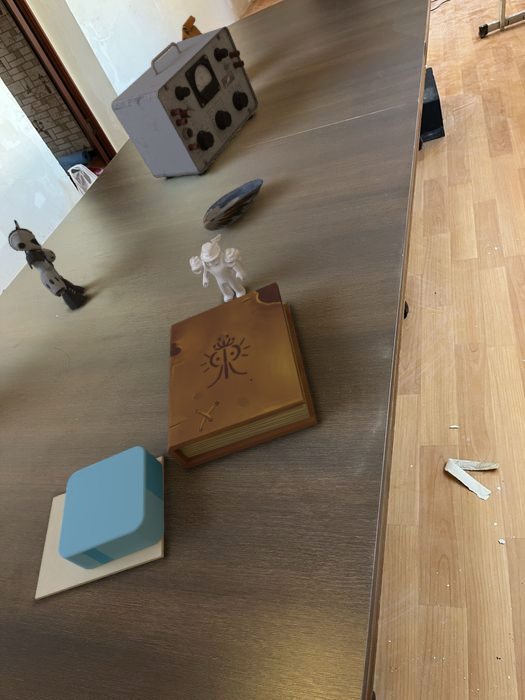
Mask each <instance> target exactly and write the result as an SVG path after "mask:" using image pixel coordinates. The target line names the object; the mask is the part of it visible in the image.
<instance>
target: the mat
mask: <svg viewBox="0 0 525 700" xmlns="http://www.w3.org/2000/svg"><path fill="white" fill-rule="evenodd" d="M155 458H156V459H157V460H158V461H159V462H160V463H161V464H162V469H163V506H164V507H165V457H164V456H163V455H161V456H159V457H155ZM65 496H66V492H64V493H62V494H59V495H56V496H53V497H52V503H51V510H50V514H49V519H48V525H47V530H46V535H45V542H44V547H43V553H42V556H41V557H42V558H41V564H40V568H39V575H38V579H37V584H36V589H35V590H36V591H35V595H34V599H35V600H37V601H39V600H41V599H44V598H47V597H50V596H51V597H52V596H53V595H56V594H59V593H63V592H65V591H69V590H71V589H74V588H77V587H80V586H83V585H86V584H88V583H92V582H94V581H98V580H100V579H102V578H106V577H109V576H112V575H115V574H118V573H121V572H124V571H127V570H130V569H133V568H136V567H139V566H141V565H144V564H147V563H150V562H153V561H156V560H159V559H163V558H164V556H165V555H164V554H165V553H164V550H165V547H164V546H165V545H164V544H165V543H164V542H165V541H164V540H165V539H164V538H165V537H164V535H165V534H164V533H165V531H164V532H163V535H162V537H161V539H160V540H159V541H158V542H157V543H156V544H154V545H152V546H149V547H146V548H144V549H141V550H139V551H136V552H133V553H131V554H128V555H125V556H123V557H120V558H118V559H115V560H112V561H110V562H107V563H105V564H102V565H99V566H97V567H94V568H91V569H84V568H82V567H80V566H78V565H76V564H74V563H72V562H70V561H68V560H66V559H64V558H62V557H61V556H60V554H59V551H58V548H59V541H60V533H61V526H62V518H63V511H64V504H65Z"/></svg>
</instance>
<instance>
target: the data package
mask: <svg viewBox="0 0 525 700" xmlns="http://www.w3.org/2000/svg"><path fill="white" fill-rule="evenodd" d="M156 458H157V457H155V456H154V455H153V454H152V453H150V452H149V451H148V450H147V449H146V448H145V447H144V446H142V445H136V446H133V447H129V448H128V449H126V450H123V451H121V452H119V453H115V454H114V455H111V456H109V457H107V458H104V459H103V460H102V459H101V460H100V461H97V462H95V463H93V464H90V465H88V466H85V467H82V468H80V469H79V470H76V471H75V472H73V473H72V475H70V477H69V478H68V480H67V483H66V488H65V489H66V490H65V493H66V496H65V504H64V511H63V518H62V526H61V533H60V541H59V548H58V551H59V554H60V556H61V557H62V558H64V559H66V560H68V561H70V562H72V563H74V564H76V565H78V566H80V567H82V568H84V569H91V568H94V567H97V566H99V565H102V564H105V563H107V562H110V561H112V560H115V559H118V558H120V557H123V556H125V555H128V554H131V553H133V552H136V551H139V550H141V549H144V548H146V547H149V546H152V545H154V544H156V543H157V542H158V541H159V540H160V539H161V537H162V535H163V532H164V533H165V505H164V506H163V469H162V464H161V463H160V462H159V461H158V460H157V459H156Z"/></svg>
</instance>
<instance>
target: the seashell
mask: <svg viewBox="0 0 525 700" xmlns="http://www.w3.org/2000/svg"><path fill="white" fill-rule="evenodd" d="M263 183H264V180H263V179H262V178H255V179H253V180H250V181H247V182H245V183H243V184H241V185H240V186H238V187H236V188H234V189H232V190H231V191H229V192H227V193H225V194H224V195H222V196H221V197H220V198H218V199H217V200H216V201H215V202H214V203H213V204H211V205H210V206H209V207H208V209H207V210H206V212H205V214H204V216H203V218H202V222H201V223H202V227H203V228H204V229H205V230H207V231H211V232H213V231H220V230H222V229H226V228H228V227H229V226H231V225H232V224H234V223H235V222H236V221H237V220H239V219H240V218H241V217H242V216H244V215H245V213H246V212H247V210H248V209H249V208H250V207H251V205H252V204H253V202H254V200H255V199H256V197H257V196H258V194H259V193H260V190H261V188H262V186H263Z"/></svg>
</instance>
